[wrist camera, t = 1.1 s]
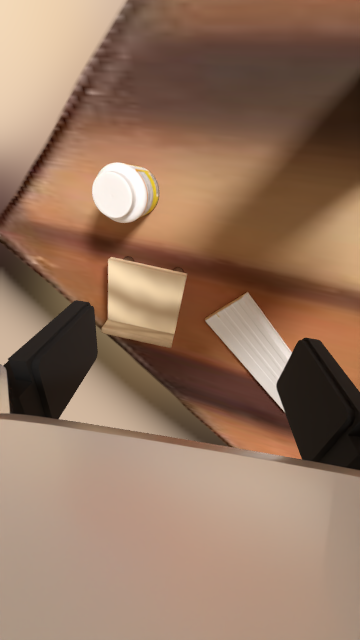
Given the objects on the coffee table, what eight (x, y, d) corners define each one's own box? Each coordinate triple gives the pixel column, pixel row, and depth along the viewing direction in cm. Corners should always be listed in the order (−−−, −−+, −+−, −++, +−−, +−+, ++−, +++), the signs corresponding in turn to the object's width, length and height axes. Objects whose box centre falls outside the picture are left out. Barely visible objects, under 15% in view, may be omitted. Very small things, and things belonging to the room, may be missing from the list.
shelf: (120, 250, 34) (100, 265, 28) (189, 265, 34) (184, 283, 28) (118, 310, 40) (101, 332, 34) (176, 323, 40) (170, 348, 34)
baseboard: (255, 285, 35) (204, 316, 39) (258, 292, 33) (204, 325, 37) (331, 393, 46) (285, 409, 50) (338, 405, 43) (288, 420, 47)
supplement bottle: (113, 198, 30) (75, 205, 22) (130, 156, 28) (94, 144, 19) (148, 222, 32) (125, 238, 23) (168, 184, 29) (150, 185, 20)
